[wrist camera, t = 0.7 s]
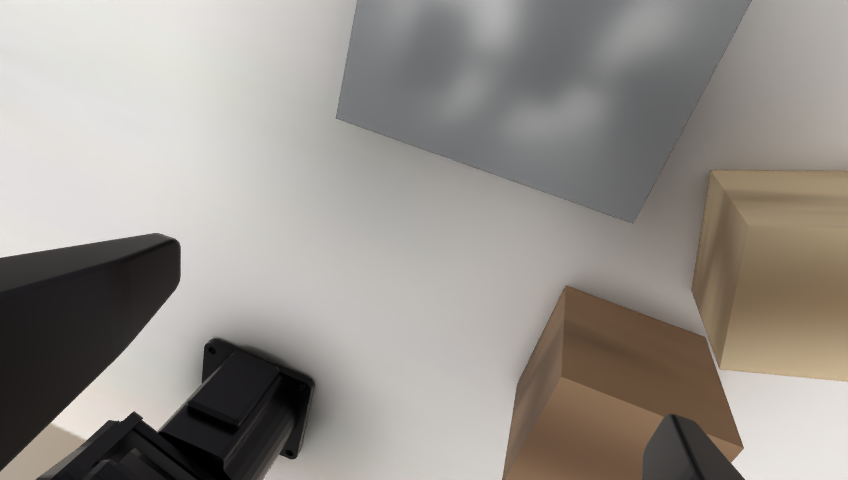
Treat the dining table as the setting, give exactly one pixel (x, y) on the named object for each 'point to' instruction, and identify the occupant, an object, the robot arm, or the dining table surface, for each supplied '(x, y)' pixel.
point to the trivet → (539, 86)
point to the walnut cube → (609, 393)
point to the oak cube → (775, 272)
